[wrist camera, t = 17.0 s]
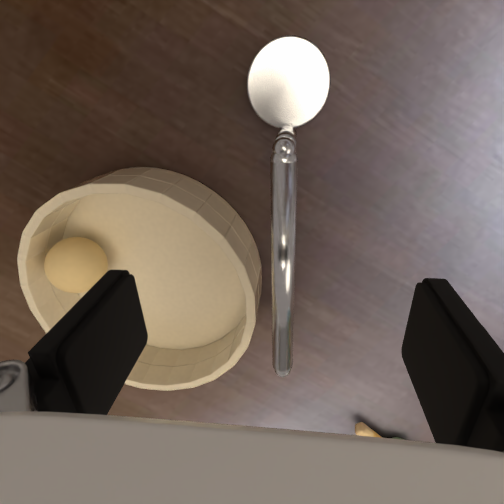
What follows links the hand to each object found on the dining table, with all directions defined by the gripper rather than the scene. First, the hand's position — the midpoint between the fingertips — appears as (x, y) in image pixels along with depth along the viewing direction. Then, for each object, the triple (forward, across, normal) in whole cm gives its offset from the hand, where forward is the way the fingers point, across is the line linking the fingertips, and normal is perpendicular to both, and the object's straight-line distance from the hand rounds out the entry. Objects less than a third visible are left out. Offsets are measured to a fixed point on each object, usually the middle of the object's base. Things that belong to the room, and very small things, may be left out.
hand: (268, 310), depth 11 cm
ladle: (+12, 0, 0) cm, 12 cm away
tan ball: (+8, +14, +5) cm, 17 cm away
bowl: (+12, +10, +6) cm, 17 cm away
